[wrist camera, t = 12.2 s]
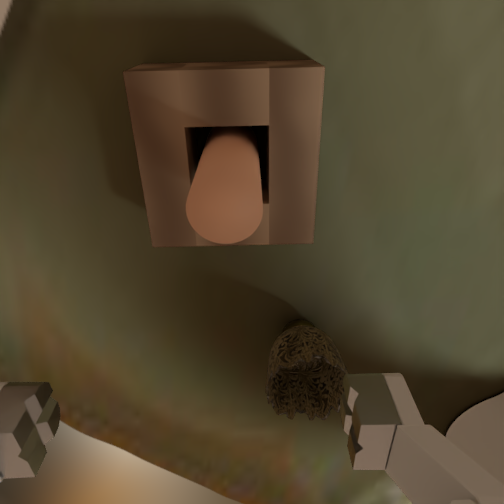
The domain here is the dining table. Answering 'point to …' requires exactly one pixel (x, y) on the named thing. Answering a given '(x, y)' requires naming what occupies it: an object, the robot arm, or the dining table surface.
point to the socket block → (228, 114)
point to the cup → (304, 372)
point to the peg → (227, 187)
